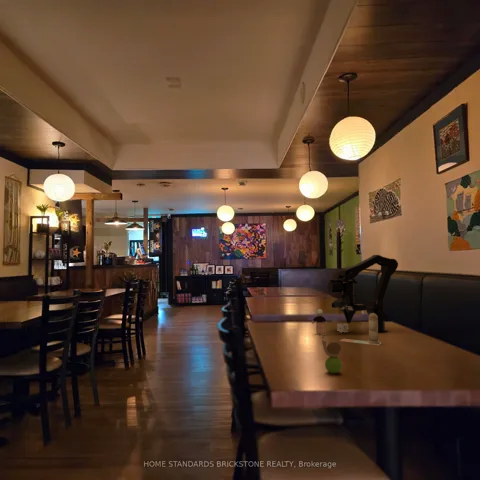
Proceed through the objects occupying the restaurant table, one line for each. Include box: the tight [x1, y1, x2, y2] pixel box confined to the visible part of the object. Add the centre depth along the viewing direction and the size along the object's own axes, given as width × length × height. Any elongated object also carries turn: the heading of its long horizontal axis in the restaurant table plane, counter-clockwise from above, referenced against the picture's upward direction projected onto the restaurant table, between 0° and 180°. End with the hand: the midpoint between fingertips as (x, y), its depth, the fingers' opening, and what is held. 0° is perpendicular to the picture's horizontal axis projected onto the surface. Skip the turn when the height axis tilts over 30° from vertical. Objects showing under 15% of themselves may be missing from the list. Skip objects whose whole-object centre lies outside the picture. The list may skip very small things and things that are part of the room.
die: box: [336, 322, 349, 333], centre depth 200 cm, size 4×4×4 cm
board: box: [339, 338, 382, 346], centre depth 172 cm, size 18×7×1 cm, turn 57°
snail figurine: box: [321, 335, 343, 375], centre depth 126 cm, size 5×6×12 cm
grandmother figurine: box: [311, 309, 329, 336], centre depth 192 cm, size 8×4×13 cm, turn 84°
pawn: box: [366, 313, 381, 346], centre depth 169 cm, size 5×5×13 cm
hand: (348, 323), depth 196 cm, fingers closed
